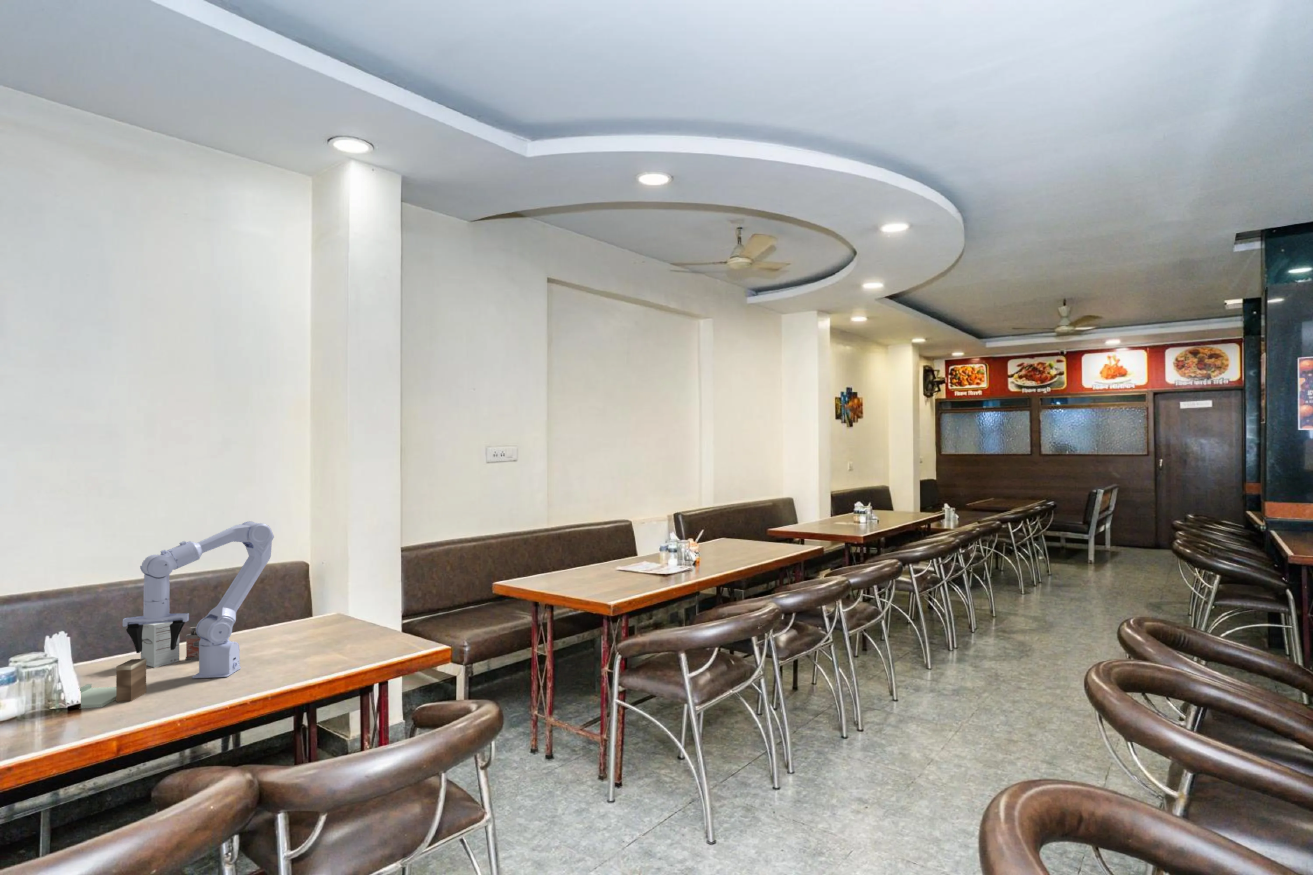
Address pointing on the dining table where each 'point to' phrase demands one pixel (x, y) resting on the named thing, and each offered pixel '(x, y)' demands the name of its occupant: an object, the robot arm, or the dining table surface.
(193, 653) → the small bottle
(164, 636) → the supplement box
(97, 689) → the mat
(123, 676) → the walnut block
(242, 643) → the dining table surface
